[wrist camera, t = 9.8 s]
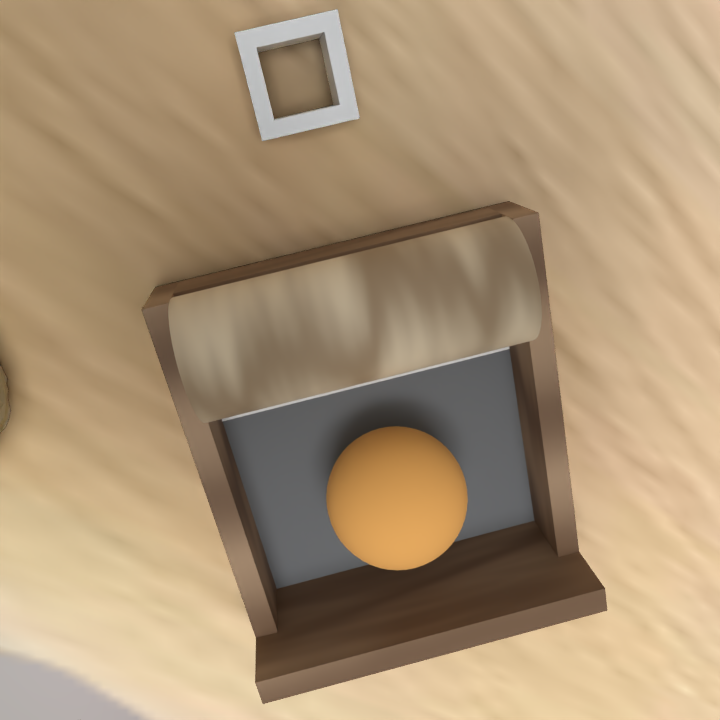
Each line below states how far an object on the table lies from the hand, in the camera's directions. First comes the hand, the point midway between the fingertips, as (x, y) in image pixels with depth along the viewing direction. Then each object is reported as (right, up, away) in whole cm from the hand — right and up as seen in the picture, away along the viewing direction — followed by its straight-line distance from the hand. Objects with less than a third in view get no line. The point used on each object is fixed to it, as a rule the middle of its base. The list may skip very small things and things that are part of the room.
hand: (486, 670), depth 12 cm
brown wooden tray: (-1, +2, +20) cm, 20 cm away
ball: (-1, -1, +18) cm, 18 cm away
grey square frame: (-5, +16, +15) cm, 22 cm away
